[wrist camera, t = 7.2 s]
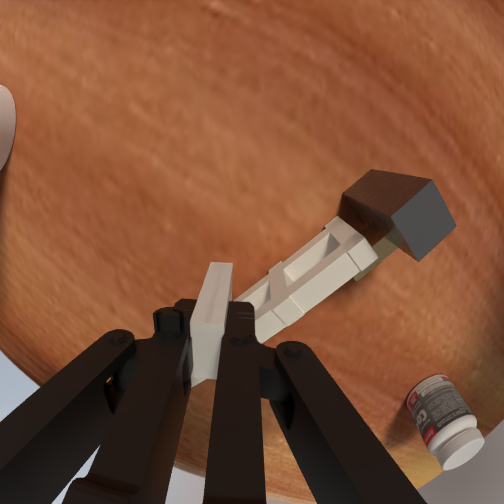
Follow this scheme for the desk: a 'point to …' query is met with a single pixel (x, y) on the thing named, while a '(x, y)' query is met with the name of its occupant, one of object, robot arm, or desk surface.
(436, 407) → the pill bottle
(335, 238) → the gate
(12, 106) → the cup
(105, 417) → the robot arm
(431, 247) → the grey upright block
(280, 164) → the desk surface
